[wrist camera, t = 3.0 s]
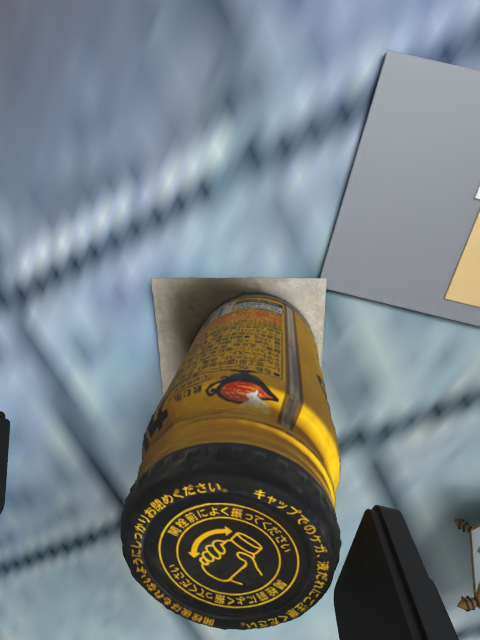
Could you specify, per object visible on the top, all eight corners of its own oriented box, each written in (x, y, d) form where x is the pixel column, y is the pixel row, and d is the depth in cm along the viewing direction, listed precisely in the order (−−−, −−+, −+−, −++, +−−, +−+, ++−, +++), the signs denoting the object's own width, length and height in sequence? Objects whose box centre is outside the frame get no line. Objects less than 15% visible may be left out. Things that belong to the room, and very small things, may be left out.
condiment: (318, 410, 21) (364, 675, 10) (164, 404, 22) (39, 643, 10) (326, 277, 18) (398, 422, 7) (152, 276, 19) (-26, 405, 8)
